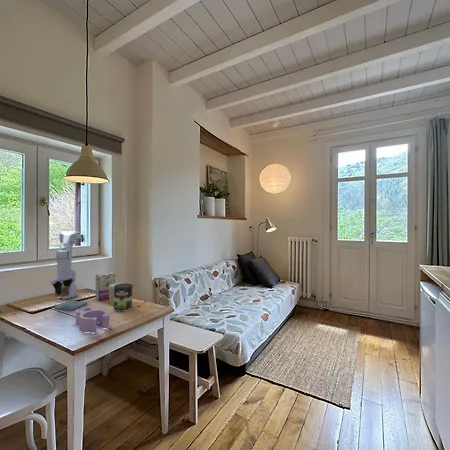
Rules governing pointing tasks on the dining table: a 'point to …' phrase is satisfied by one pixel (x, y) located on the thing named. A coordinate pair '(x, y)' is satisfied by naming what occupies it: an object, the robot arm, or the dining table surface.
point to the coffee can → (122, 297)
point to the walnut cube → (63, 291)
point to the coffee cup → (112, 293)
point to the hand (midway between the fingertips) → (62, 293)
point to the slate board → (70, 305)
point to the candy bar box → (104, 285)
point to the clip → (91, 319)
